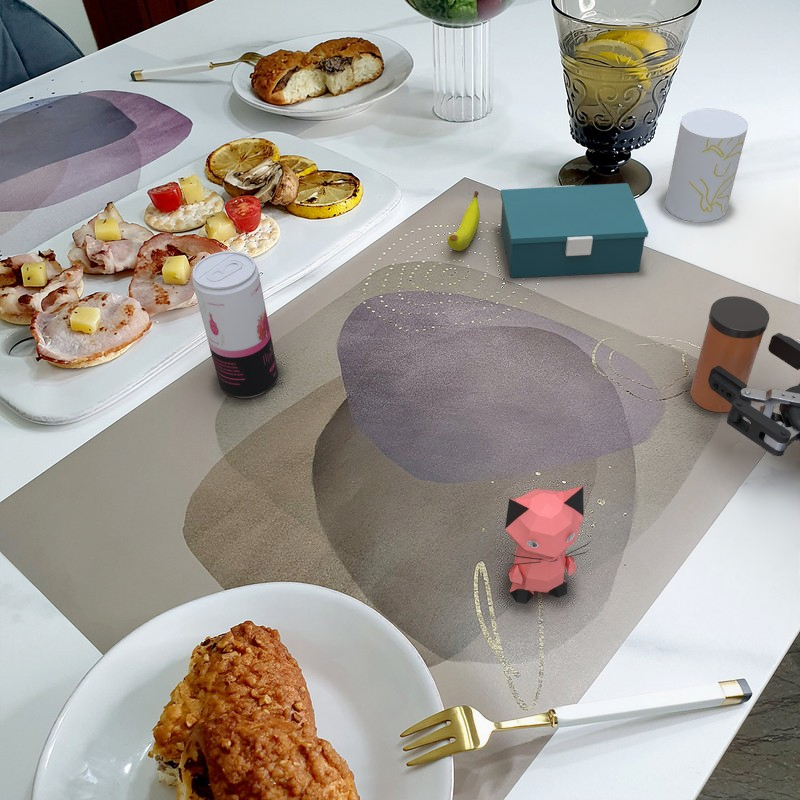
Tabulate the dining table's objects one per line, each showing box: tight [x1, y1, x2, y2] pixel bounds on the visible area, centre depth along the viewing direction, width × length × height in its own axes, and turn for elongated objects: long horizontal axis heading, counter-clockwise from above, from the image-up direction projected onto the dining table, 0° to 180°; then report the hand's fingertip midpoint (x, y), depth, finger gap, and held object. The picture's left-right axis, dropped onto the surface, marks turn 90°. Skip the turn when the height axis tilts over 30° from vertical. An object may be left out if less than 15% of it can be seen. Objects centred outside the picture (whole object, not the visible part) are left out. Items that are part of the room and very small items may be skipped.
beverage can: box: [192, 250, 279, 399], centre depth 90 cm, size 6×7×15 cm
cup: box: [664, 108, 749, 223], centre depth 113 cm, size 8×8×12 cm
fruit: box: [446, 190, 481, 252], centre depth 111 cm, size 10×2×5 cm, turn 159°
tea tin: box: [690, 295, 770, 413], centre depth 86 cm, size 5×5×11 cm
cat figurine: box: [504, 486, 593, 604], centre depth 71 cm, size 7×7×12 cm
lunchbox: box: [500, 182, 649, 279], centre depth 109 cm, size 16×12×6 cm
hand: (742, 356), depth 85 cm, fingers open, 8 cm apart
